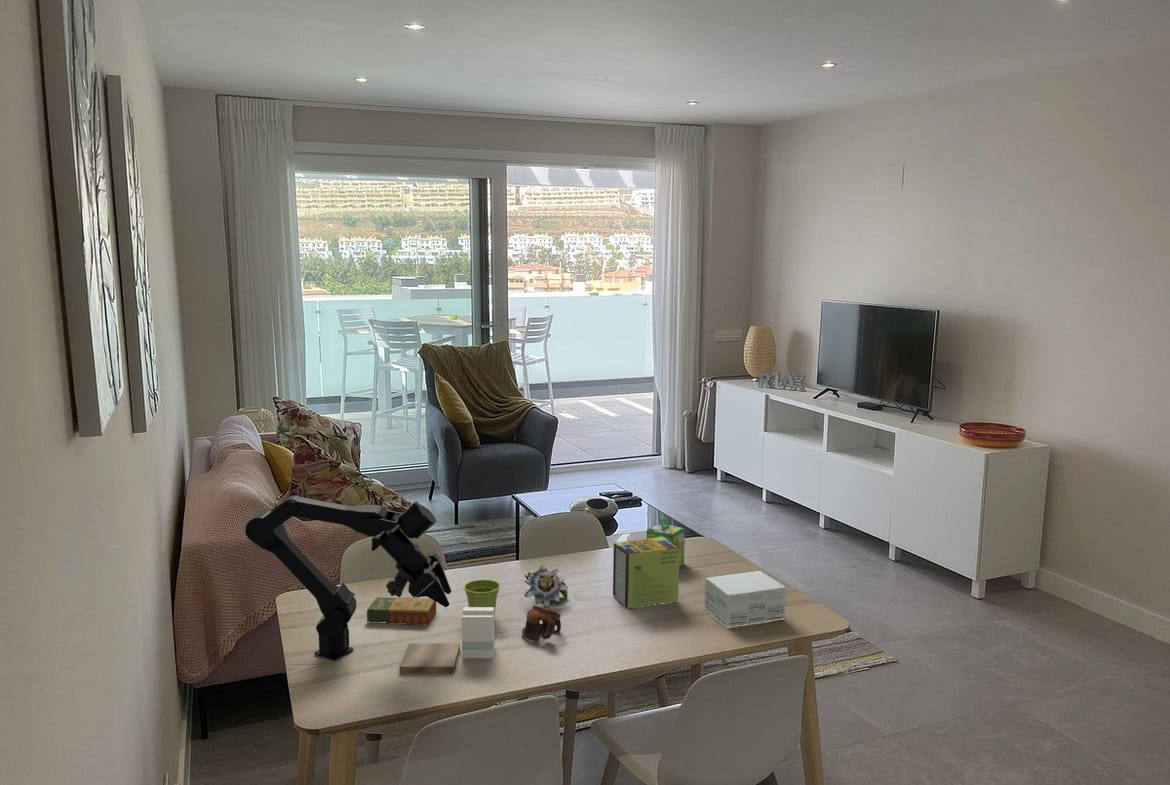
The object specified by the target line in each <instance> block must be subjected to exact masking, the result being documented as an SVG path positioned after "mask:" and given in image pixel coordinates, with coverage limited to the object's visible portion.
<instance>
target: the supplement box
mask: <svg viewBox="0 0 1170 785" xmlns="http://www.w3.org/2000/svg"><path fill="white" fill-rule="evenodd" d="M704 579H705V580H704V581H705V582H704V585H705V586H704V608H703V609H705V610H706V611H707V612H709V613H710V614H711V615H713V616H714V617H715V618H717V619H718V620H719V621H721V622H722V623H723V624H724V625H726V626H727V627H729V626H736V625H744V624H750V623H756V622H763V621H768V620H775V619H781V618H785V615H786V614H785V613H786V589H787V588H786V586H785V585H784V584H781V583H780V582H779V581H777V580H776V579H774V578H772V577H770V576H769V575H767V574H766V573H764V572H763V571H761V570H756V571H755V570H754V571H750V572H740V573H734V574H733V573H732V574H726V575H719V576H712V577H711V576H710V577H709V576H708V577H705V578H704ZM705 610H704V611H705ZM706 611H705V612H706ZM707 612H706V613H707ZM709 613H708V614H709ZM710 614H709V615H710ZM711 615H710V616H711ZM715 618H714V619H715Z"/></svg>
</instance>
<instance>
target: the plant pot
mask: <svg viewBox="0 0 1170 785" xmlns="http://www.w3.org/2000/svg"><path fill="white" fill-rule="evenodd" d="M500 589H501V584H500V582H498V581H497V580H492V579H474V580H471V581H468V582H466V583H465V584H464V585H463V590H464V591H465V595H466V598H467V604H468V607H494V616H495V613H496V608H497V607H496V606H497V597H498V594H499V590H500Z"/></svg>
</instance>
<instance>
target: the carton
mask: <svg viewBox="0 0 1170 785" xmlns="http://www.w3.org/2000/svg"><path fill="white" fill-rule="evenodd" d="M435 613H436V614H437V602H436V601H434V600H432V599H430V598H427V597H424V598H422V597H419V598H417V597H411V598H410V597H382V596H381V597H380V596H376V597H375V599H374V600H373V602H372V603H371V604H370V605H369V607H367V609H366V621H369V622H386V623H385V624H388V623H406V624H405V625H415V624H427V625H426V626H429V625H430V624H431V622H432V620H433V619H432V618H434V617H435V615H436V614H435ZM429 623H430V624H429ZM428 624H429V625H428Z"/></svg>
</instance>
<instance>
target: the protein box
mask: <svg viewBox="0 0 1170 785" xmlns="http://www.w3.org/2000/svg"><path fill="white" fill-rule="evenodd" d="M679 552H680V548H679V547H678V546H676V545H675V544H673V543H672V542H670V541H668V540H667V539H665V538H664V537H656V538H648V539H647V538H641V539H634V540H623V541H617V542H613V565H612V568H613V569H612V571H613V572H612V574H613V577H612V596H613V595H614V596H615V597H616V598H617V599H618V600H619V601H620V602H621V603H622V604H623V607H624V608H626V609H627V610H631V609H630V608H633V609H636V608H635V607H640V608H643V607H642V606H647V607H649V606H648V605H654V604H661V603H668V604H670V603H669V602H675V603H677V602H676V601H678V602H679V585H680V584H679V580H680V566H679ZM614 596H613V597H614ZM615 597H614V598H615ZM616 598H615V599H616ZM617 599H616V600H617ZM618 600H617V601H618ZM619 601H618V602H619ZM620 602H619V603H620ZM621 603H620V604H621ZM622 604H621V605H622ZM661 605H662V604H661ZM654 606H655V605H654Z"/></svg>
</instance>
